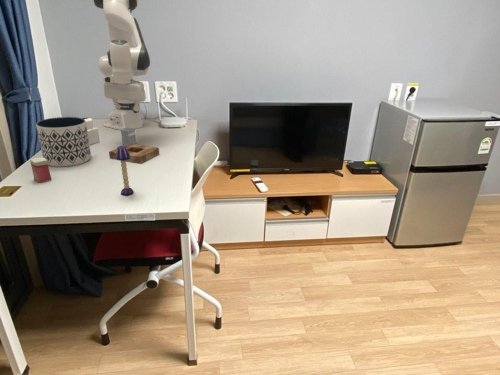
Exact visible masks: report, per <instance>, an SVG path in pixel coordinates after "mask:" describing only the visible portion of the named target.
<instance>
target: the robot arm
mask: <svg viewBox="0 0 500 375" xmlns="http://www.w3.org/2000/svg"><path fill="white" fill-rule="evenodd" d="M92 2H93V4H94V6H95V7H96V8H99V9H103V14H104V18H105V20H106V21H107V24H108V25H107V26H108V34H109V35H108V36H109V50H108V51H107V52H106V54H107V55H106V54H105V55H102V56H100V58H99V60H98V63H97V64H98V69H99V72H100V73H101V74H102V75H103V76H104V77H103V83H104V84H103V93H104V97H105V98H106V99H110V100H111V101H112V102H113V103H112V104H113V106H114V107H115V109H113V110H112V111H110V112H109V113H108V114H107V117H106V118H107V119H106V122H104V123H103V126H102V127H105V128H106V127H107V128H111V129H115V130H118V131H121V130H123V129H126V128H133V129H135V130H136V129H139V128H140V129H141V128H143V127H144V124H143V122H142V119H141V113H140V102H142V103H143V102H145V101H146V99H147V97H146V91H145V84H144V83H143V81H141V80H139V79H137V80H136V79H135V78H134V77H140V76H146V75H147V74H148V72H149V70H150V69H149V68H150V66H151V57H150V56H151V55H150V54H149V52H148V50H147V46H146V44H145V41H144V37H143V34H142V31H141V28H140V24H139V23H138V20H137V19H136V18H135V17H134V16H133V15H131V14H132V13H133V11H134V10H135V9H136V8H137V7H138V5H139V0H92ZM133 40H134V42H133ZM134 43H135V44H134Z"/></svg>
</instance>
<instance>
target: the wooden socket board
mask: <svg viewBox="0 0 500 375" xmlns="http://www.w3.org/2000/svg"><path fill="white" fill-rule="evenodd" d="M124 146H126V147H127V149H128V152H129V154H130V159H128V160H126V162H130V163H135V164H140V165H141V164H144V163H145V162H147V161H149V160H151V159H153V158H155V157H157V156H158V155H160V148H159V147H155V146H149V145H142V144H137V143H136V144H131V143H129V144H126V145H124ZM116 151H117V148H114V149H111V150H109V151H108V154H109V155H108V156H109V159H112V160H116Z"/></svg>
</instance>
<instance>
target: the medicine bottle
mask: <svg viewBox="0 0 500 375" xmlns="http://www.w3.org/2000/svg"><path fill="white" fill-rule="evenodd" d="M81 118H82V119H84V120H85V121H86V126H87V132H88V138H89V145H90V146H91V145H93V144H94V145H95V144H97V143H100V134H99V128H98V127H94V122H93V121H94V120H93V118H90V117H81Z"/></svg>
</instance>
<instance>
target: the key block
mask: <svg viewBox="0 0 500 375" xmlns="http://www.w3.org/2000/svg"><path fill="white" fill-rule="evenodd" d="M120 131H121V132H120V133H121V141H122V142H121V143H122V146H124V145H126V144H129V143H131V144H137V138H136V134H137V132H136V129H133V128H126V129H123V130H120Z"/></svg>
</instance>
